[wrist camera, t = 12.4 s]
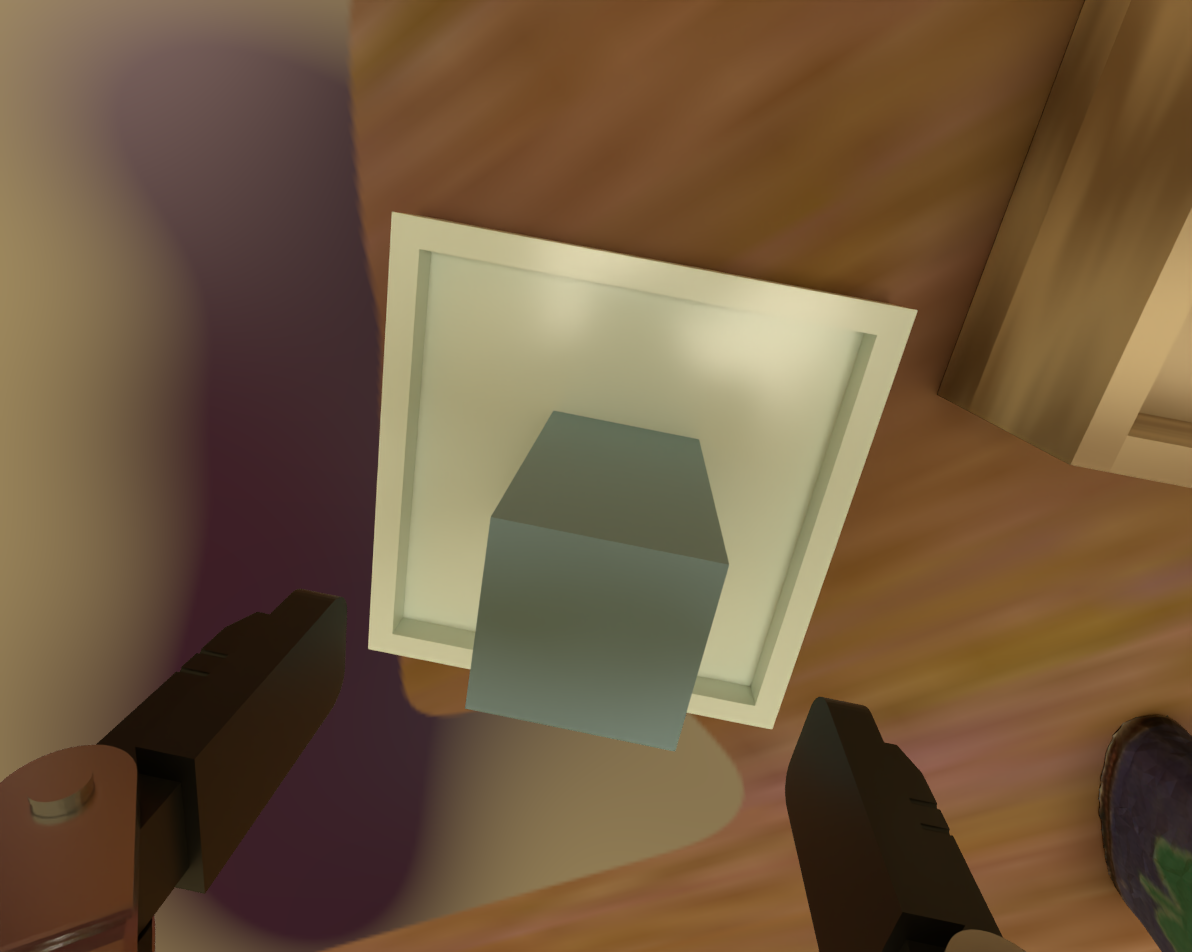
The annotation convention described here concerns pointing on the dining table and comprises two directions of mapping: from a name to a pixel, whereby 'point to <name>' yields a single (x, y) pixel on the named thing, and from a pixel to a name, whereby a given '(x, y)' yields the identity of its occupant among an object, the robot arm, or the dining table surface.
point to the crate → (1097, 259)
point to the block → (599, 583)
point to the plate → (626, 396)
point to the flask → (1151, 825)
